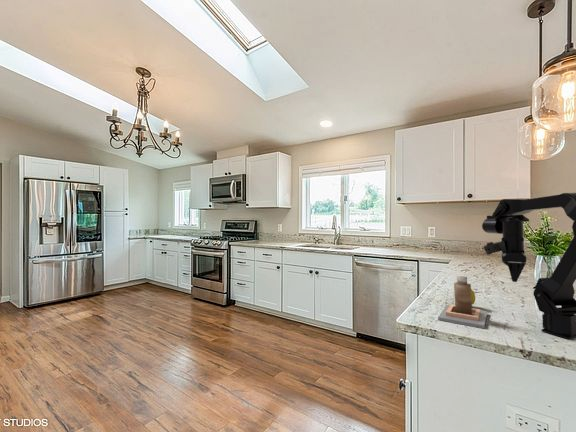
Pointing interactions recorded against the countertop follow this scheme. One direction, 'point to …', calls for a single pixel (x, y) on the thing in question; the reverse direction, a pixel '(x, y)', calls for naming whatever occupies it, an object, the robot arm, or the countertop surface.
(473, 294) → the lemon
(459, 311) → the pepper mill
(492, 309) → the countertop surface
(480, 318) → the display stand
